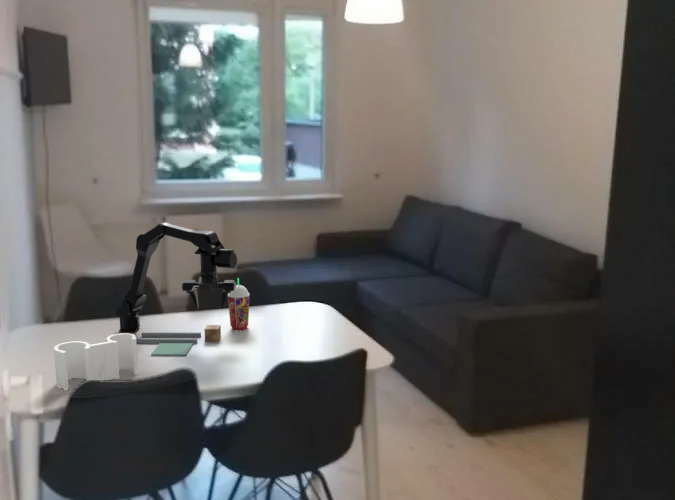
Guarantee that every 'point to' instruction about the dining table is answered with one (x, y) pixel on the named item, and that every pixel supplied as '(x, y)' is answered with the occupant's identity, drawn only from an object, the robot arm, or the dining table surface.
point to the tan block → (212, 333)
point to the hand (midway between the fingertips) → (210, 308)
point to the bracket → (95, 359)
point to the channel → (168, 340)
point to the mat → (172, 349)
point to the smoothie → (239, 307)
